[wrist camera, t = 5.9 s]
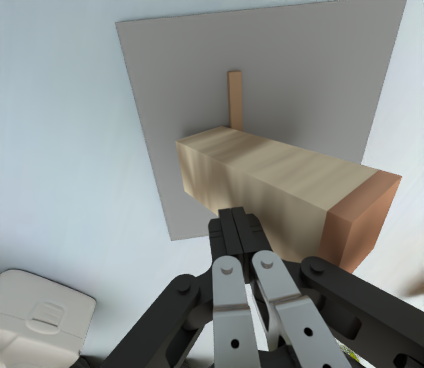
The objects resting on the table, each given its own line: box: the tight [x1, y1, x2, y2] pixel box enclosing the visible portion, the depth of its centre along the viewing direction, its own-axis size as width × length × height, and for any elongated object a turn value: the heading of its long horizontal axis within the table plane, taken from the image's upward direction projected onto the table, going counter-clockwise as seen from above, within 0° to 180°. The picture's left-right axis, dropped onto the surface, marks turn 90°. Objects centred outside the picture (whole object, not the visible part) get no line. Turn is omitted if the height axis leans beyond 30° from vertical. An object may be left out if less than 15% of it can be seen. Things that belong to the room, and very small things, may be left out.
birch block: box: [175, 126, 402, 274], centre depth 16 cm, size 5×5×14 cm
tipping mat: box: [115, 0, 407, 241], centre depth 22 cm, size 22×22×2 cm
